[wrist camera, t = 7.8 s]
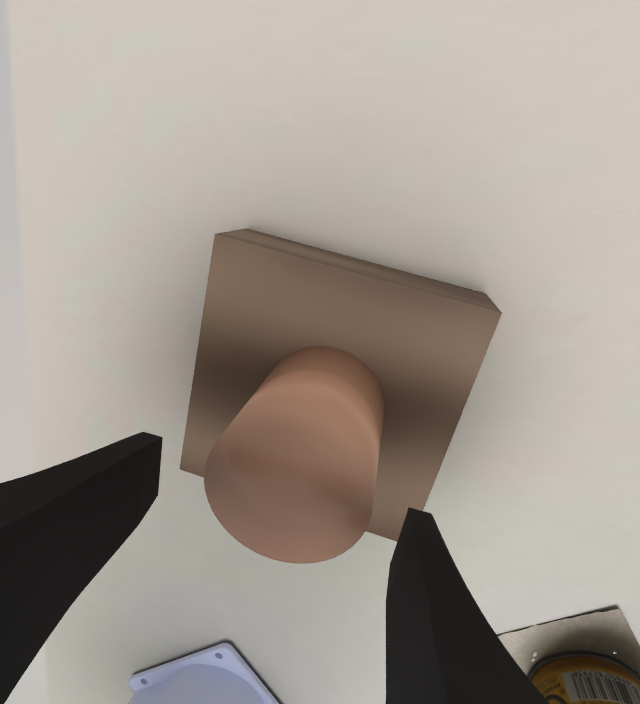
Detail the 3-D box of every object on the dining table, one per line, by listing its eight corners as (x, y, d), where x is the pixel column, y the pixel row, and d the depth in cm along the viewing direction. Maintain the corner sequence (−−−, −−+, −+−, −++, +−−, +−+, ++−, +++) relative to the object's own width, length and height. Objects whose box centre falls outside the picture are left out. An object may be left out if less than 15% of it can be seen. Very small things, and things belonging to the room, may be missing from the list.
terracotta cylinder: (310, 474, 20) (271, 584, 14) (241, 385, 19) (171, 464, 13) (408, 423, 18) (407, 525, 12) (337, 322, 17) (303, 383, 12)
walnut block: (408, 490, 24) (408, 545, 20) (214, 428, 25) (179, 469, 21) (484, 291, 20) (501, 312, 16) (249, 227, 21) (214, 233, 17)
